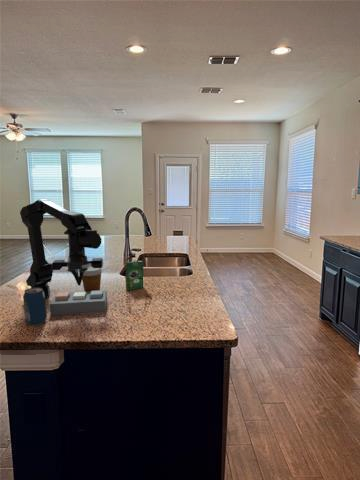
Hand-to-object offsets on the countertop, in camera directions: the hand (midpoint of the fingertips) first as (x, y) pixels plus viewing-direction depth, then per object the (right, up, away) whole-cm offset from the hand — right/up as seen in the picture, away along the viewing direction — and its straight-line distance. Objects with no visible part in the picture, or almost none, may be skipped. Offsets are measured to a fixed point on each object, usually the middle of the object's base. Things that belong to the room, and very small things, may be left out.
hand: (79, 285), depth 124 cm
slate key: (+6, -7, +2) cm, 10 cm away
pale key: (0, -8, +1) cm, 8 cm away
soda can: (-12, -12, -11) cm, 20 cm away
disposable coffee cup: (0, -7, +17) cm, 18 cm away
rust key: (-7, -7, 0) cm, 10 cm away
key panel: (0, -9, +2) cm, 9 cm away
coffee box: (+18, -5, +25) cm, 31 cm away
